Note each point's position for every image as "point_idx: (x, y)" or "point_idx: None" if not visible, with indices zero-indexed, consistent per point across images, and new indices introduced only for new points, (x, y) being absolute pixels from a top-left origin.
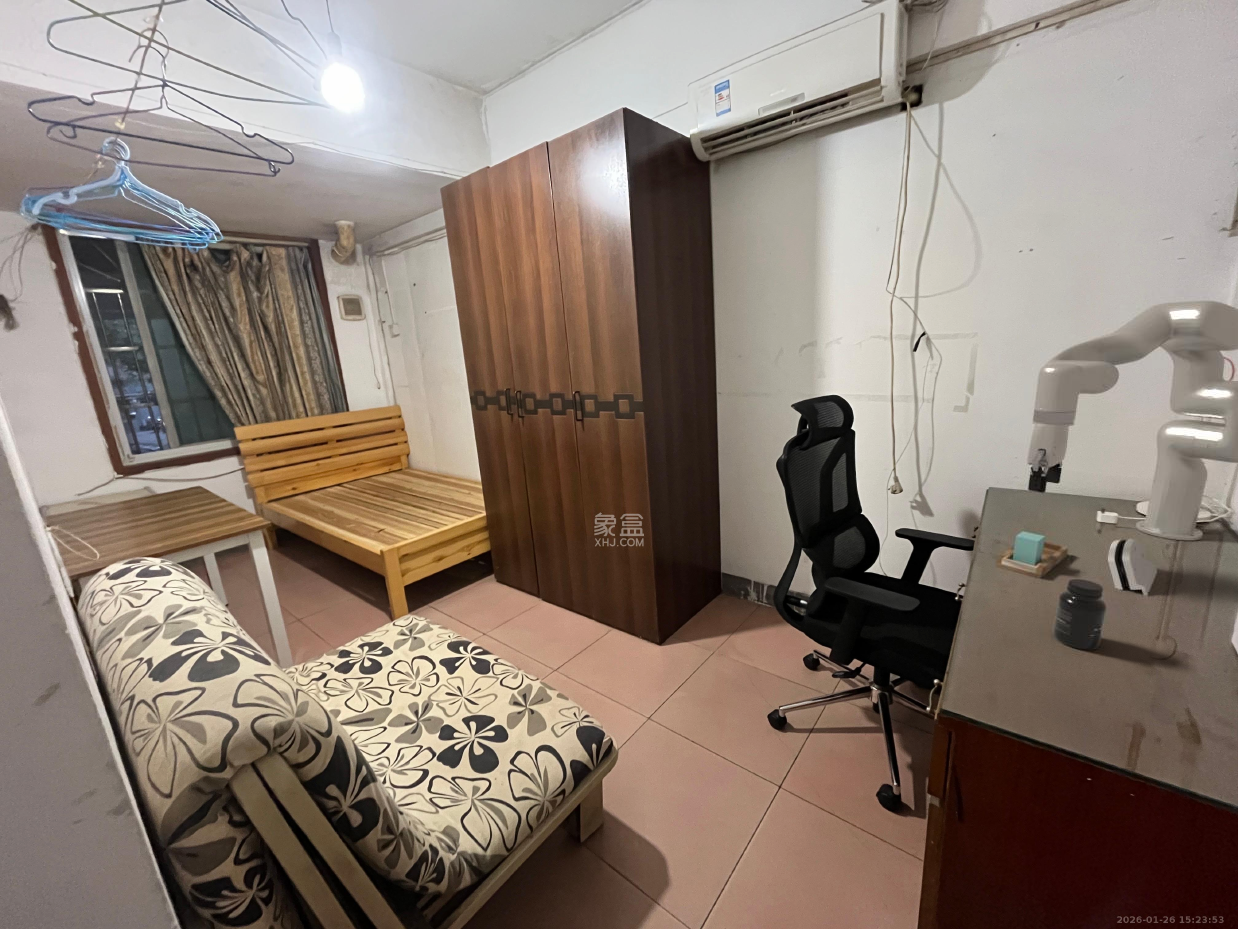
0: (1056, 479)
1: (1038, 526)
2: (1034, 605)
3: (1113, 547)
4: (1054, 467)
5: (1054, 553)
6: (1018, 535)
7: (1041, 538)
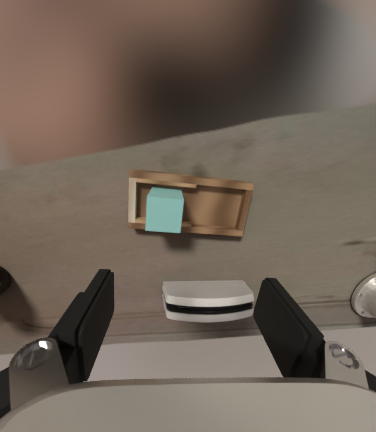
0: (259, 323)
1: (347, 180)
2: (41, 234)
3: (195, 303)
4: (297, 367)
5: (205, 228)
6: (154, 198)
7: (164, 231)
